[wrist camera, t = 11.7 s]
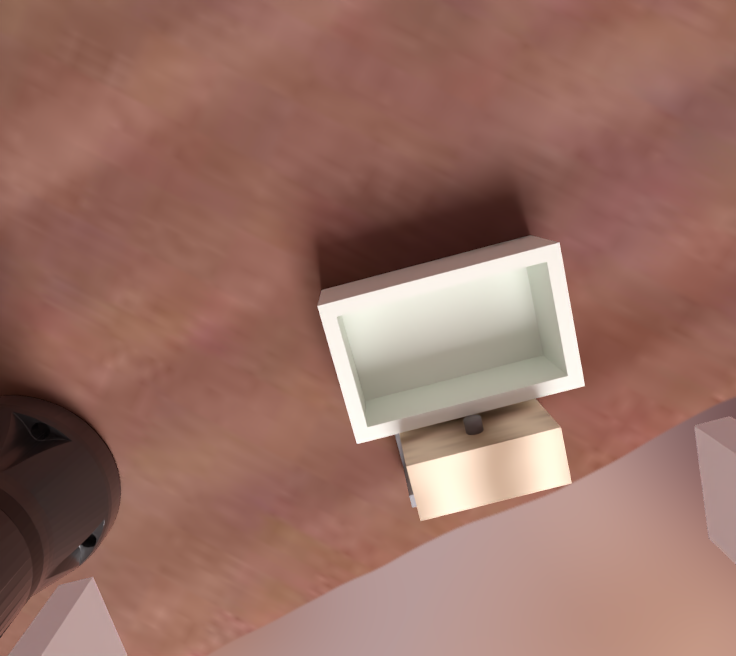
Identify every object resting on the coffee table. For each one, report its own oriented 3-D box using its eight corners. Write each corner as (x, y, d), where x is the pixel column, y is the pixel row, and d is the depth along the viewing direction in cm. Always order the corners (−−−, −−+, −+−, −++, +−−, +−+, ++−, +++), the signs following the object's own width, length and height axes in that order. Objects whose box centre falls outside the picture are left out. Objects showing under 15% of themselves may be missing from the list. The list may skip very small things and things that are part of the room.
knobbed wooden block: (406, 457, 46) (420, 521, 37) (391, 402, 45) (402, 453, 36) (528, 426, 46) (571, 483, 37) (517, 369, 44) (558, 414, 36)
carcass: (376, 483, 47) (380, 525, 41) (321, 290, 43) (317, 306, 37) (568, 434, 46) (599, 470, 41) (530, 234, 42) (559, 242, 37)
